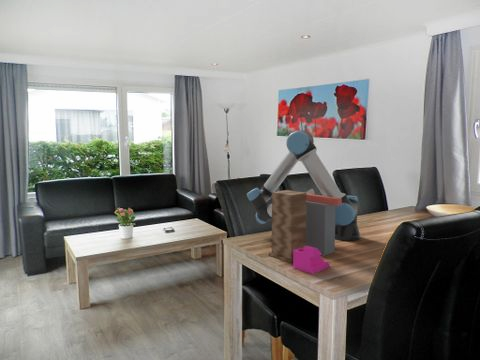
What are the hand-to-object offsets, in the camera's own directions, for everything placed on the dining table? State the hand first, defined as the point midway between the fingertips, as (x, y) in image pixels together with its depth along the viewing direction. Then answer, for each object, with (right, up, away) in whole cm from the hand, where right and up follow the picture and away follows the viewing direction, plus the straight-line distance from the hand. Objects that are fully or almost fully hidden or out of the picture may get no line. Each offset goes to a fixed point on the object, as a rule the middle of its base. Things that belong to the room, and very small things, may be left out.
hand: (305, 192), depth 193 cm
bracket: (-1, -31, -25) cm, 40 cm away
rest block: (+6, -28, -3) cm, 29 cm away
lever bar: (+5, -4, -4) cm, 8 cm away
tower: (-9, -29, -11) cm, 33 cm away
